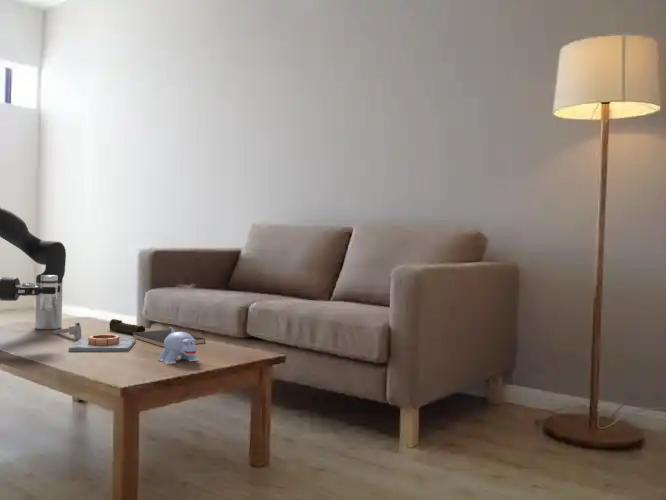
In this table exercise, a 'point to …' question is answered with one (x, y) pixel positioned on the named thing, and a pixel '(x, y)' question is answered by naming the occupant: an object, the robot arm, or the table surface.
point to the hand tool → (125, 327)
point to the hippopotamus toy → (178, 347)
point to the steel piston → (49, 300)
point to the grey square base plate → (103, 344)
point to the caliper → (71, 331)
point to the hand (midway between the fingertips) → (57, 289)
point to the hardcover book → (160, 337)
